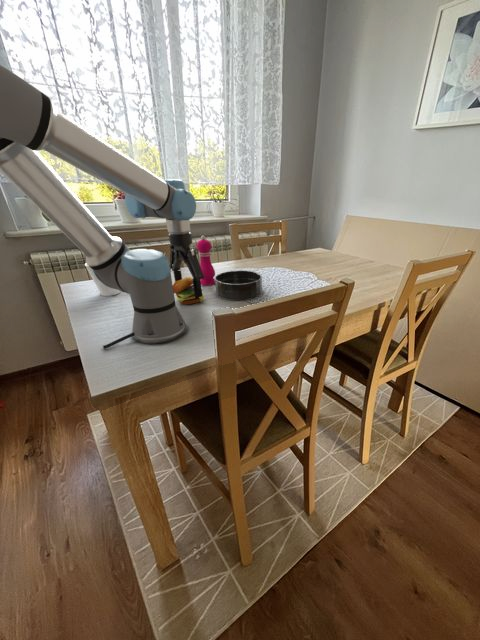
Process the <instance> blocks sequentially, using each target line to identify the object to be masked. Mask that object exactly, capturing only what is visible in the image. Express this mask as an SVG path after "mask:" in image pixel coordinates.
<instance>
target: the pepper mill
mask: <svg viewBox="0 0 480 640" xmlns="http://www.w3.org/2000/svg"><path fill="white" fill-rule="evenodd" d="M196 249H197V250H198V256H199V258H200V261H199V264H200V267H201V270H202V272H203V275H204V278H203V279H201V286H213V285H215V276H216V270H215V268H214V266H213V264H212V261H211V255H212V253H211V249H212V243H211V242H210V241H209V240H208V239H206V236H205V235H201V236H200V239H199V240H198V241H197V243H196Z"/></svg>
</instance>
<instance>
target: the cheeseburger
mask: <svg viewBox="0 0 480 640" xmlns="http://www.w3.org/2000/svg"><path fill="white" fill-rule="evenodd" d="M192 279H193V277H192V276H186V277H183V278H182V279H181V280H178V281H176V282H175V281H174V282H173V283H172V285H173V291H174V294H175V296H176V300H177V301H178V302H179V303H180V304H181V305H192V304H197V303H199V302H200V303H202V302H203V301H204V300H205V296H204V293H203V292H204V291H203V289H202V297H198V298H195V295H194V288H193V281H192Z"/></svg>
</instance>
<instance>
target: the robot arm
mask: <svg viewBox="0 0 480 640" xmlns="http://www.w3.org/2000/svg"><path fill="white" fill-rule="evenodd" d="M39 151H45V152H47V153H49V154H50V155H52V156H53V157H56V158H57V159H60V160H62V161H64V162H65V163H67V164H69V165H71V166H73V167H75V168H77V169H78V170H80V171H82V172H84V173H86V174H88V175H89V176H91V177H93V178H95V179H96V180H98V181H100V182H102V183H105V184H106V185H108V186H110V187H112V188H113V189H116V190H117V191H119V192H121V193H123V194H124V204H125V207H126V210H127V211H128V213H129V215H131V216H132V217H133V218H135V219H145V218H157V219H165V224H166V229H167V232H168V239H169V243H170V245H169V259H168V257H167V255H166V254H164V253H163V252H162V251H159V250H155V249H147V248H136V249H130V248H129V246H128V245H127V244H126V243H125V242H124V240H122V238H120V237H119V236H114V235H113V236H112V235H111V234H110V233H109V232H108V231H107V229H105V227H104V226H103V225H102V224H101V223H100V222H99V221H98V219H97V218H96V217H95V215H93V213H92V212H91V211H90V210H89V209H88V207H86V205H85V204H84V203H83V202H82V201H81V200H80V199H79V198H78V196H77V195H76V194H75V193H74V192H73V190H71V188H70V187H69V186H68V185H67V184H66V182H64V180H63V178H61V177H60V175H59V174H58V173H57V172H56V171H55V170H54V169H53V167H52V166H51V165H50V163H48V162H47V161H46V159H45V158H44V157H43V156H42V155H41V154H40V153H39ZM0 173H1V174H3V175H4V176H5V178H7V179H8V180H9V181H10V182H11V184H13V185H14V186H15V187H16V188H17V189H18V191H20V192H21V193H22V194H23V195H24V196H25V197H26V198H27V199H28V200H29V201H30V202H31V203H32V204H33V205H34V206H35V207H36V208H37V209H38V210H39V211H40V212H41V213H42V214H43V215H44V216H45V217H46V218H47V219H49V221H51V223H53V225H55V226H56V228H57V229H59V231H60V232H62V233H63V235H65V237H66V238H68V239H69V241H71V243H73V244H74V245H75V246H76V247H77V248H78V249H79V250H80V251H81V252H82V253H83V254H84V255H85V263H87V265H88V266H89V267H91V268H92V269H93V272H94V274H95V276H96V277H97V279H98V280H99V281H100V282H102V283H103V284H104V285H106V286H108V287H110V288H112V289H117V290H119V292H122V293H125V294H127V295H129V296H130V300H131V303H132V304H131V305H132V309H133V319H132V329H131V333H129V334H127V335H124V336H122V337H119V338H118V339H116V340H113V341H112V342H109V343H107V344H105V345H102V348H103V350H106V349H108V348H111V347H113V346H115V345H118V344H119V343H121V342H123V341H125V340H127V339H130V338H132V337H133V339H134V340H135V341H137V342H139V343H141V344H147V345H158V344H165V343H169V342H172V341H174V340H177V339H179V338H180V337H182V336H183V335H184V334H185V333H186V331H187V326H186V322H185V320H184V318H183V316H182V314H181V312H180V310H179V308H178V307H177V304H176V299H175V298H176V297H175V293H174V291H173V279H172V273H171V272H173V278H174V282H176V281H178V280H181V279H183V276H182V271H181V270H182V269H181V266H182V263H184V264H185V265H186V268H187V269H188V271H189V273H190V275H191V278H193V279H192V281H193V284H192V285H193V288H194V295H195V298H198V297H202V293H203V291H202V290H203V289H202V285H201V279H203V278H204V275H203V272H202V270H201V267H200V261H199V259H198V257H197V256H198V255H197V251H196V249H194V248H193V249H191V247H190V245H192V244H193V236H192V233H191V229H192V228H191V221H190V220H191V219H192V218H193V217H194V216H195V215H196V211H197V201H196V198H195V196H194V195H193V194H192V192H191V191H189V190H187V189H186V187H185V183H184V181H183V180H181V179H162V178H161V177H159V176H158V175H156V174H155V173H152V172H151V171H150V170H148V169H147V168H146V167H143V166H142V165H141V164H139V163H138V162H137V161H135V160H133V158H130V157H129V156H127V155H126V154H124V153H123V152H121V151H120V150H119V149H117V148H115V147H114V146H112V145H111V144H109V143H108V142H106V141H105V140H103V139H102V138H100V137H99V136H98V135H96V134H94V133H93V132H92V131H90V130H88V129H87V128H86V127H84V126H83V125H80V124H79V123H78V122H77V121H75V120H74V119H72V118H70V117H69V116H67V115H66V114H65V113H63V112H61V111H60V110H58V109H57V108H56V107H55V104H54V103H53V101H52V99H51V97H50V96H48V95H46V94H45V93H43V92H42V91H40V90H39V89H38V88H37V87H35V86H34V85H32V84H30V83H29V82H27V81H26V80H25V79H23V78H22V77H20V76H18V75H17V74H16V73H15V72H13V71H11V70H9V69H8V68H7V67H6V66H3V65H1V64H0Z"/></svg>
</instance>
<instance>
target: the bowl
mask: <svg viewBox="0 0 480 640" xmlns="http://www.w3.org/2000/svg"><path fill="white" fill-rule="evenodd" d="M214 279H215V284H214V287H215V289H214V290H215V294H216V296H218V297H219V298H222V299H224V300H225V299H226V300H229V301H245V300H251V299H254V298H256V297H258V296H260V295H261V294H262V292H263V276H262V274H260V273H259V272H256V271H252V270H230V271H224V272H221V273H218V274H217V275H216V274H215V276H214Z"/></svg>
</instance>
